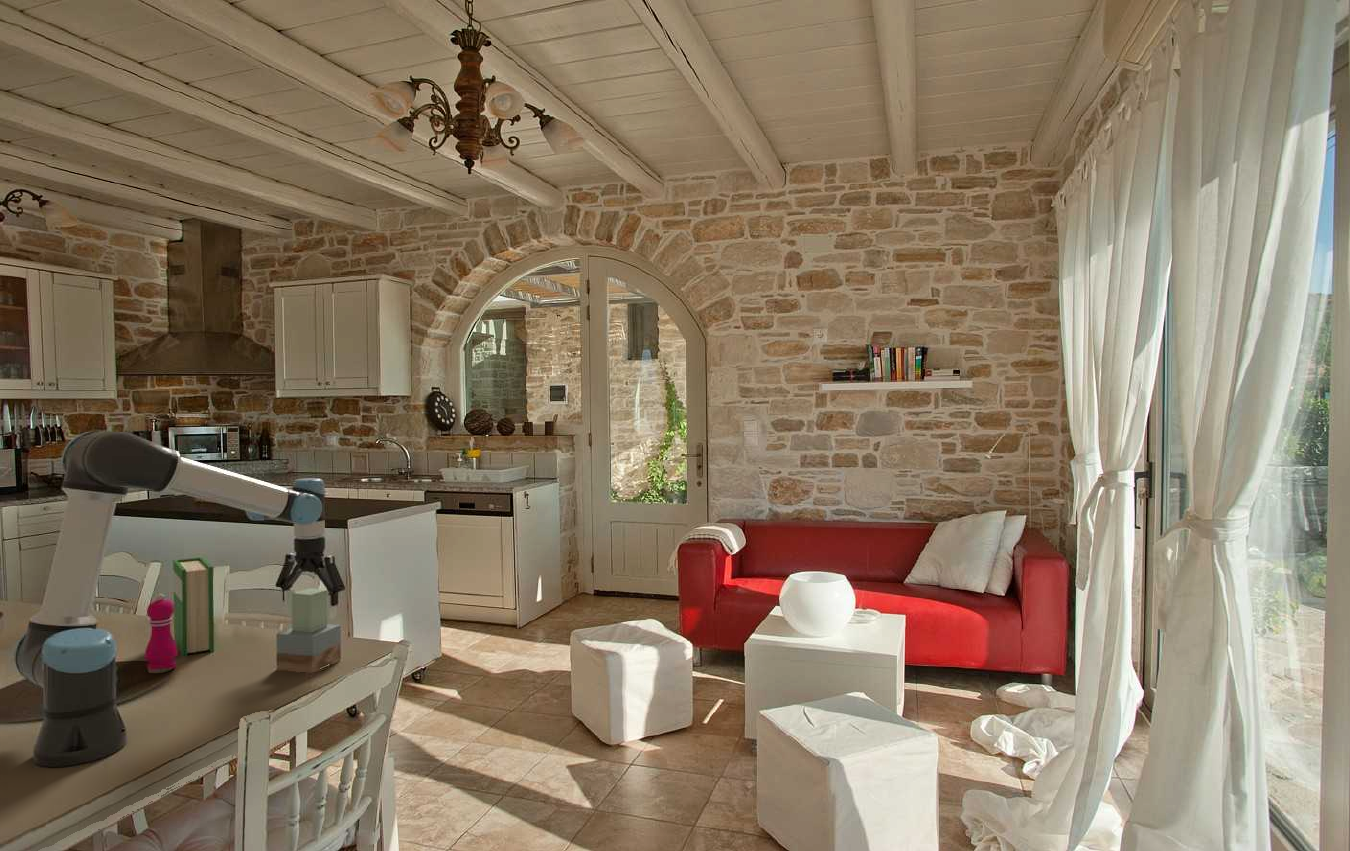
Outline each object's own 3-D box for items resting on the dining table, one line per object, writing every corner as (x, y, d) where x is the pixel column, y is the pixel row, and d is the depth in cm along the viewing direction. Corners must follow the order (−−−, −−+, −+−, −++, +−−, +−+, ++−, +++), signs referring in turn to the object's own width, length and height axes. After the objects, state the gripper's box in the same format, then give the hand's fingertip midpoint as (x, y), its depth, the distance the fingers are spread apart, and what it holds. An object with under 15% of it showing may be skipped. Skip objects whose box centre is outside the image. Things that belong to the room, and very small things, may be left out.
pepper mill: (161, 675, 204) (160, 598, 204) (137, 673, 206) (136, 596, 205) (184, 666, 211) (183, 591, 211) (161, 664, 213) (160, 590, 212)
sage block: (310, 632, 209) (310, 594, 209) (292, 630, 211) (292, 593, 211) (327, 626, 215) (327, 590, 215) (309, 624, 217) (309, 588, 216)
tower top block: (312, 655, 206) (312, 636, 206) (276, 652, 209) (276, 633, 208) (340, 643, 217) (340, 625, 216) (305, 640, 219) (305, 622, 219)
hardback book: (213, 651, 224) (212, 566, 223) (183, 657, 219) (181, 570, 218) (203, 637, 237) (202, 557, 237) (174, 641, 233) (173, 560, 232)
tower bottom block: (311, 675, 206) (311, 656, 206) (276, 671, 209) (276, 652, 209) (340, 661, 217) (340, 643, 216) (306, 658, 220) (306, 640, 219)
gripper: (358, 536, 212) (359, 615, 213) (281, 532, 219) (282, 608, 220) (339, 541, 205) (339, 623, 206) (260, 536, 212) (261, 615, 213)
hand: (310, 615), depth 213 cm, fingers open, 13 cm apart
